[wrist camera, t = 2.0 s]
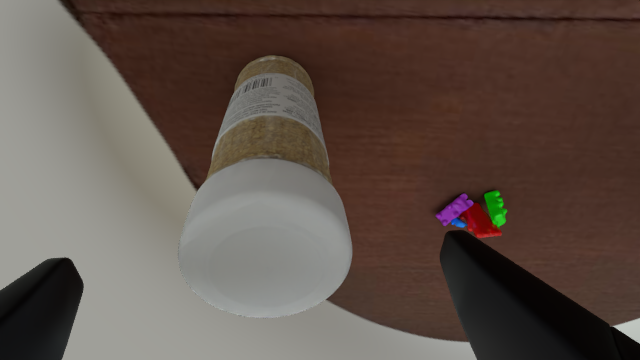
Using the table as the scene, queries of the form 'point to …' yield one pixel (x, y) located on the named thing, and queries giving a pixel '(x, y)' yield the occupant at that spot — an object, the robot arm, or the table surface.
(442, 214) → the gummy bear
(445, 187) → the table surface
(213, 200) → the sprinkles bottle
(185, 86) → the table surface
